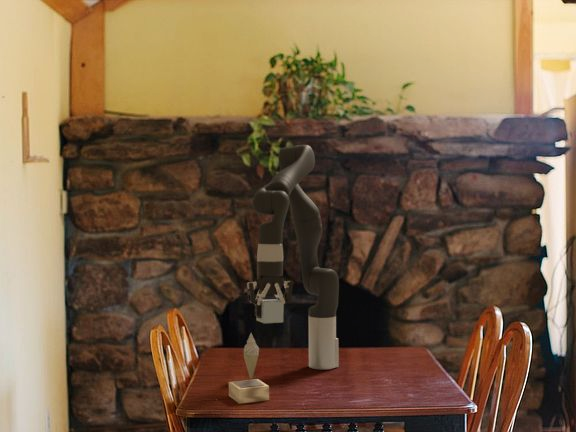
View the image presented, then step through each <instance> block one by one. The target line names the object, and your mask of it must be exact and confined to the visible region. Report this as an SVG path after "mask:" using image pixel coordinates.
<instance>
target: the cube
mask: <svg viewBox="0 0 576 432" xmlns="http://www.w3.org/2000/svg"><path fill="white" fill-rule="evenodd" d="M261 306H262V317H261V318H257V316H255V317H256V322H260V323H262V324H274V323H275V324H279V323H284V315H283V309H284V310H285V305H284V302H283V301H280V300H277V298H276V299H275V298H274V299H263V300H262V303H261Z"/></svg>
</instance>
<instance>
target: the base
mask: <svg viewBox="0 0 576 432" xmlns="http://www.w3.org/2000/svg"><path fill="white" fill-rule="evenodd" d="M228 396H229V397H230V398H231V399H233V400H234V401H235V402H236V403H237V404H239V405H240V404H247V403H256V402H263V401H270V386H269V385H268V384H266V383H265V382H263V381H262V380H261V379H259V378H254V379H252V380H250V379H245V380H236V381H235V380H234V381H228Z"/></svg>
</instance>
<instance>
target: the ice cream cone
mask: <svg viewBox="0 0 576 432" xmlns="http://www.w3.org/2000/svg"><path fill="white" fill-rule="evenodd" d="M259 352H260V347H259V346H258V345H257V343H256V340H255V338H254V336H253V334H252V332H250V334H249V336H248V339H247V340H246V344H245V345H244V348H243V353H242V356H243V357H244V362H245V365H246V368H247V369H246V370H247V372H248V375H249V378H250V379H249V380H253V377H254V375H255V370H256V367H257V363H258V358H259V355H260V354H259Z"/></svg>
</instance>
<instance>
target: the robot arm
mask: <svg viewBox="0 0 576 432" xmlns="http://www.w3.org/2000/svg"><path fill="white" fill-rule="evenodd" d="M278 164H279V168H280V171H278V172H277V173H276V174H275V175H274V176H273V177H272V179H271V180H270V182H269V183H267V184H265V185H263V186H262V187H261V188H259V189H258V190H256V192H254V195H253V197H252V199H251V200H252V201H251V205H252V209H253V211H254V212H255V213H256V214H258V215H260V216H261V215H262V216H264V215H265V216H267V215H268V216H274V217H273V220H272V221H269V222H266V223H265V222H264V223H261V224H260V225H258V234H257V236H258V238H257V239H258V240H257V241H258V244H257V252H256V253H257V255H256V266H257V267H256V276H257V277H256V280H255V281H251V282H250V281H248V282H246V292H247V300H248V302H249V304H253V305H254V316H255V317H256V316H257V318H261V317H262V306H261V303H262V300H265V297H266V296H269V295H273V296H275V298H276V299H277V300H280V301H283V302H284V306H285V304H286V303H290V302H291V301H292V295H293V288H294V282H293V281H290V280H287V281H286V280H284V246H283V242H284V241H283V239H284V237H283V234H284V233H283V232H284V226H285V225H284V224H285V221H286V217H287V213H288V211H289V207H290V213H291V217H292V222H293V228H294V229H293V230H294V232H295V237H296V241H297V247H298V251H299V252H298V253H299V257H300V267H301V277H302V278H301V279H302V283H303V287H304V290H305V291H306V293H308V294H309V295H313V296H318V300H317V303H316V304H314V305H311V306H310V307H308V367H309V368H310V369H314V370H332V369H334V368H339V367H340V366H339V354H340V353H339V338H337V310H338V306H339V292H340V291H339V290H340V289H339V288H340V283H339V282H340V281H339V276H338V274H337V272H336V271H335V270H334V269H331V268H325V267H320V264H319V261H318V248H319V244H320V241H321V238H322V234H323V224H322V223H323V222H322V218H321V213H320V209H319V207H317V205H316V204H315V202H313V200H312V199H311V198H310V197H309V195H307V194H306V193H305V192H304V191H303V188H301V186H300V184H299V183H300V182H301V181H302V180H303V179H304V178H305V177H306V176H307V175H308V174H310V173H311V172H312V171H313V169H314V167H315V165H316V158H315V152H314V150H313V148H312V147H311V146H310V145H308V144H299V145H298V144H297V145H292V146H287V147H282V148H280V149H279V152H278ZM283 286H284V294H283V292H282V290H281V289H282V287H283ZM256 287H257V289H258V291H257V294H256V297H255V289H256ZM284 315H285V308H284V309H283V316H284Z"/></svg>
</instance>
